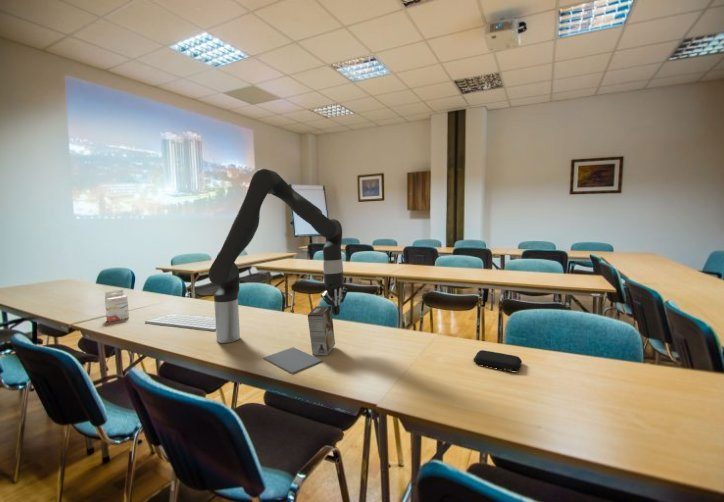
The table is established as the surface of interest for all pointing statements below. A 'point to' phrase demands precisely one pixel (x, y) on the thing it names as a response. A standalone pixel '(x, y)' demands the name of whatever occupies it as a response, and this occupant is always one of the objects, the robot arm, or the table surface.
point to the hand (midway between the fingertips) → (336, 314)
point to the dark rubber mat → (292, 360)
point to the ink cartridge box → (116, 306)
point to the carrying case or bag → (498, 360)
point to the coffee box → (321, 330)
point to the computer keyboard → (185, 322)
